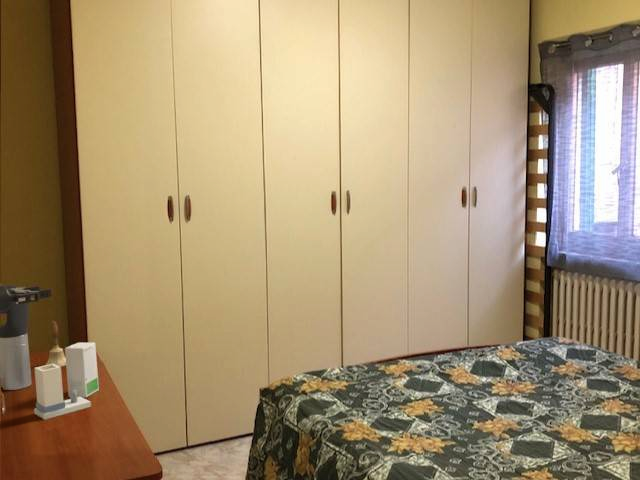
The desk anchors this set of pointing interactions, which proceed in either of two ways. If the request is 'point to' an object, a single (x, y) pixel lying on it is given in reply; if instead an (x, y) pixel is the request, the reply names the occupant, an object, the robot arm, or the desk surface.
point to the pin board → (66, 406)
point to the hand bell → (56, 348)
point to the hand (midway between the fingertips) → (44, 291)
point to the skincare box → (82, 369)
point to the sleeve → (49, 388)
